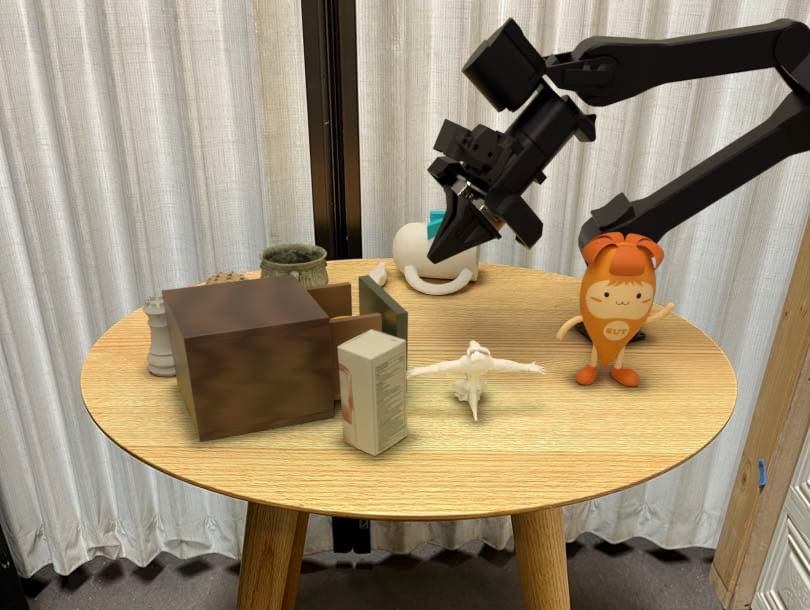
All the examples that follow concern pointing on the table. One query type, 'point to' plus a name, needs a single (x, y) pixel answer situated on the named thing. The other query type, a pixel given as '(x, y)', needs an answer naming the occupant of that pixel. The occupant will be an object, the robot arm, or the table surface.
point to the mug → (415, 264)
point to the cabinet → (250, 355)
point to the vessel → (295, 263)
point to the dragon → (473, 372)
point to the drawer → (373, 315)
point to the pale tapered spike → (379, 274)
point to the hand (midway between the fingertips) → (430, 260)
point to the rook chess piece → (159, 338)
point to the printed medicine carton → (373, 391)
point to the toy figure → (616, 299)
